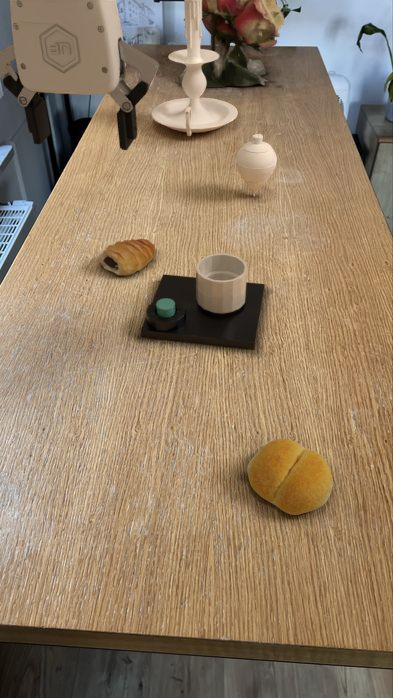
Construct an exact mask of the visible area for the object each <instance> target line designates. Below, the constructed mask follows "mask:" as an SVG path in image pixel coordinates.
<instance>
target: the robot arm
mask: <svg viewBox="0 0 393 698" xmlns="http://www.w3.org/2000/svg"><path fill="white" fill-rule="evenodd" d="M9 7H10V9H9V10H10V22H11V23H10V24H11V33H12V44H10V45H8V46H7V47H5V48H3V49H2V50H1V51H0V78H1V81H2V84H3V86H4V87H5V88H6V89H7V91H8V92H10V93H11V94H12V95H13V96H14V97H15V98H16V99H17V103H18V104H19V105H20V106H21V107H23V108H24V113H25V118H26V123H27V128H28V132H29V133H30V134H31V136H32V140H33V144H34V145H41V144H42V143H44V142H45V141H46V140H47V138H48V137H50V135H51V127H50V122H49V116H48V111H47V105H46V100H45V99H44V97H42V96H40V94H41V93H47V94H64V95H67V94H68V95H83V96H84V95H85V96H87V95H88V96H104V95H109V96H110V97H111V98H112V100H113V101H114V102H115V103H116V104H117V106H118V107H119V109H118V111H117V112H116V123H117V135H118V144H119V149H121V150H122V151H128V149H129V148H130V147H131V145H132V144H133V142H134V140H136V139H137V137H138V121H137V120H138V119H137V109H136V107H137V105H138V103H139V102H140V101H142V100H143V98H144V97H145V96H146V95H147V93H148V92H149V90H150V89H151V86H152V85H153V82H154V81H155V78H156V75H157V73H158V70H159V68H160V64H159V62H158V61H157V60H155V58H153V57H150V56H149V55H148V54H146V53H144V52H142V51H140V50H139V49H137V48H135V47H134V46H133V45H130V44H129V43H127V42H126V41H124V35H123V29H122V22H121V16H120V12H119V9H118V4H117V0H9ZM14 60H15V63H16V69H17V72H15V71H14V70H15V69H14V68H13V65H12V61H14ZM127 64H128V65H129V66H131V67H133V68H134V69H136V70H137V71H139V74H140V75H139V79H138V81H137V83H136V85H135V86H134V87H133V86H132V85H131V84H130V83H129V82H128V80H127V79H126V78H125V77H126V75H127Z"/></svg>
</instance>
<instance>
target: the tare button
mask: <svg viewBox="0 0 393 698" xmlns="http://www.w3.org/2000/svg"><path fill="white" fill-rule="evenodd" d="M156 308H157V314H158V316H160V317H165V318H167V317H172V316H173V315H174V314H175V302H174V301H173V300H171V299H168V298H164V299H160V300H159V301H158V302H157V303H156Z"/></svg>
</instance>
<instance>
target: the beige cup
mask: <svg viewBox="0 0 393 698" xmlns="http://www.w3.org/2000/svg"><path fill="white" fill-rule="evenodd" d="M248 269H249V268H248V265H247V263H246V261H245V260H244V259H242V258H241V257H239V256H237V255H234V254H231V253H222V252H221V253H220V252H219V253H211V254H209V255H205V256H203V257H202V258H200V259H199V260H198V261H197V263H196V265H195V277H196V299H197V302H198V304H199V305H200V306H201V307H202V308H203V309H205V310H208V311H210V312H213V313H229V312H233V311H235V310H237V309H240V308H241V307H242V306H243V304H244V303H245V300H246V287H247V282H248Z"/></svg>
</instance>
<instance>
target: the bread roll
mask: <svg viewBox="0 0 393 698" xmlns="http://www.w3.org/2000/svg"><path fill="white" fill-rule="evenodd" d="M246 472H247V473H246V474H247V477H248V481H249V485H250V487H251V488H252V489H253V490H254V492H255V493H256V494H257V495H259V496H260V497H261V498H262V499H264V500H265V501H267V502H269V503H270V504H272V505H274V506H276V507H277V508H278V509H279V510H281V511H282V512H284V513H286V514H288V515H291V516H298V515H301V514H307V513H309V512H313V511H315V510H317V509H320V508H321V507H323V506H324V505H325V504H326V503H327V502H328V500H329V499H330V498H331V497H330V496H331V493H332V490H333V486H334V485H333V484H334V480H333V479H334V477H333V474H332V470H331V468H330V466H329V464H328V463H327V461H326V459H324V457H323V456H322V455H321V454H320V453H319V452H317V451H315V450H312V449H309V448H306V447H304V446H303V445H302V444H300V443H299V442H297V441H295V440H292V439H288V438H277V439H274V440H271V441H270V442H268V443H266V444H265V445H263V446H261V448H260V449H259V450H258V451H257V452H256V453H255V455H254V456H252V458H251V459H250V460H249V463H248V464H247V465H246Z"/></svg>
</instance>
